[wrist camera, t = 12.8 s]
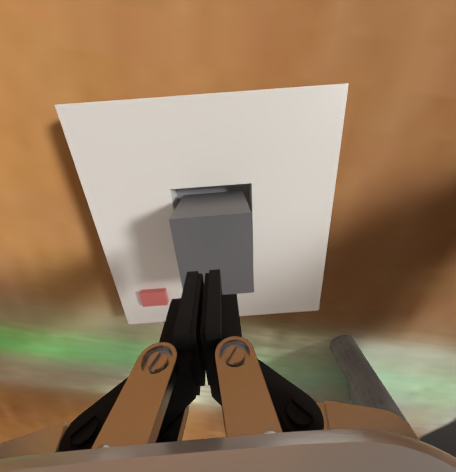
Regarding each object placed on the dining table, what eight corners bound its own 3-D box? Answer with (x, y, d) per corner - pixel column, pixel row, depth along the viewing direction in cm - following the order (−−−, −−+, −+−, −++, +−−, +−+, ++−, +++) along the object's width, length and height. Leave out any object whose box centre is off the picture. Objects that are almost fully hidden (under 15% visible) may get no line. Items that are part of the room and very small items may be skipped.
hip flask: (327, 340, 30) (500, 669, 11) (357, 330, 29) (591, 660, 11) (352, 403, 36) (490, 683, 17) (377, 396, 35) (548, 678, 17)
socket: (329, 91, 18) (353, 81, 15) (308, 291, 26) (321, 314, 23) (80, 109, 18) (48, 103, 15) (138, 304, 26) (126, 329, 23)
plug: (241, 187, 20) (251, 212, 13) (244, 246, 22) (254, 292, 16) (185, 191, 20) (168, 219, 13) (194, 250, 22) (184, 298, 16)
